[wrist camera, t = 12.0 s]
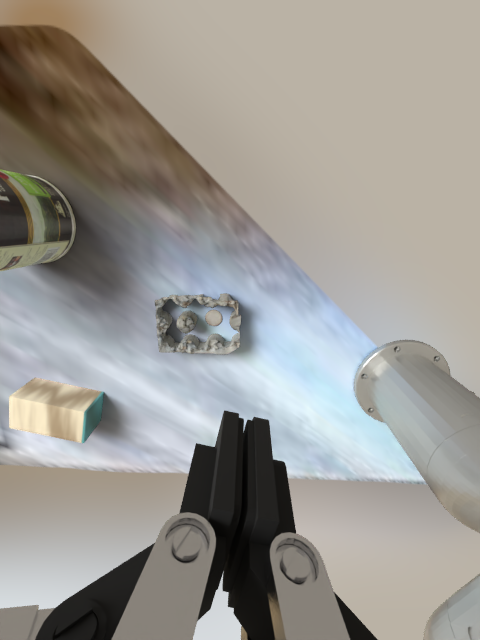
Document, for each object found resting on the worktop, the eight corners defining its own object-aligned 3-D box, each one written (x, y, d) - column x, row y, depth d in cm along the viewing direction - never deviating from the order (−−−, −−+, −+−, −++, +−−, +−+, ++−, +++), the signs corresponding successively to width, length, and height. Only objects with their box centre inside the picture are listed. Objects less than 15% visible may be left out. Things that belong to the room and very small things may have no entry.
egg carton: (241, 291, 39) (241, 299, 35) (240, 345, 42) (239, 358, 38) (160, 289, 40) (150, 297, 36) (163, 343, 42) (154, 355, 38)
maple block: (86, 412, 39) (9, 396, 39) (83, 443, 41) (9, 427, 41) (103, 392, 44) (35, 377, 44) (101, 420, 46) (34, 406, 45)
